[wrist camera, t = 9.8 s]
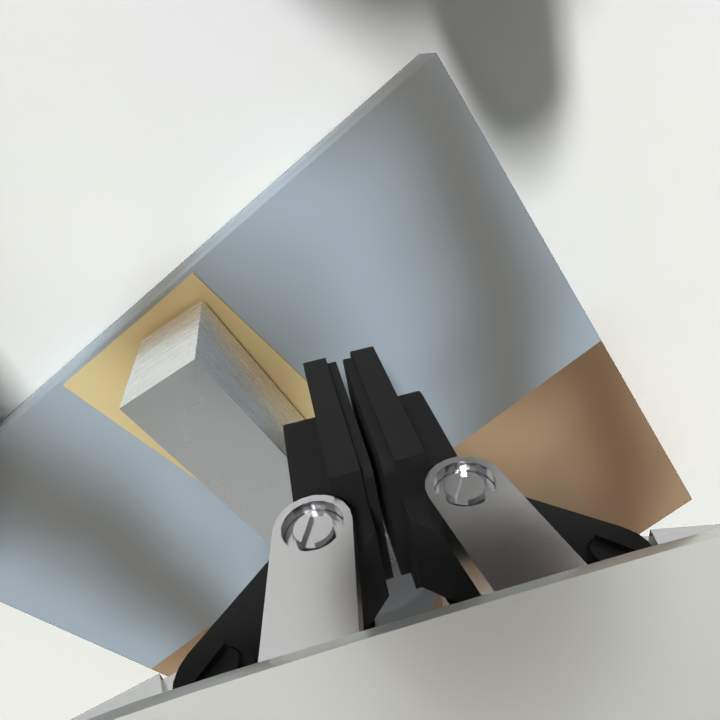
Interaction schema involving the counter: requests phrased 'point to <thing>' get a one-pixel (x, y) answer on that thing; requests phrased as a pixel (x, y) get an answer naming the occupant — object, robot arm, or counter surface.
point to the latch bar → (230, 428)
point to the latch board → (334, 342)
